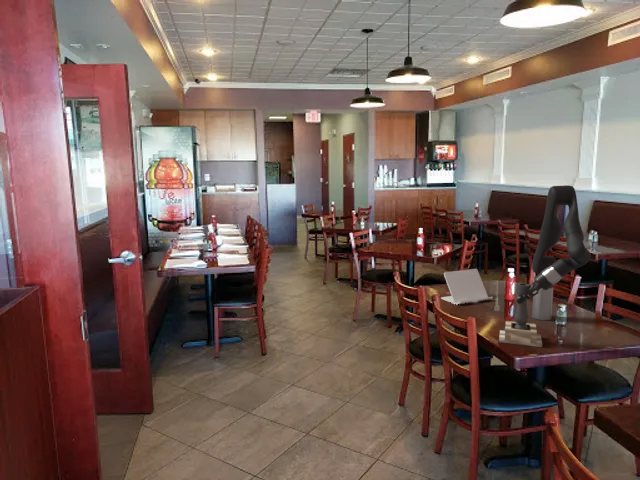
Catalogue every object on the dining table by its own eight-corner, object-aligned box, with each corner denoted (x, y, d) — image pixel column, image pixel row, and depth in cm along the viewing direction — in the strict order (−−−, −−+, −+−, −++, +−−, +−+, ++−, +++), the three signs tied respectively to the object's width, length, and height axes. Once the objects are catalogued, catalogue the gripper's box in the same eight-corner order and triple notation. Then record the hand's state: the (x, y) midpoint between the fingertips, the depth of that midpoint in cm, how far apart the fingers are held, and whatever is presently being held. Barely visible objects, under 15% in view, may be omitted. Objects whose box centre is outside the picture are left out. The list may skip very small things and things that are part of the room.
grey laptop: (440, 298, 291) (441, 271, 288) (472, 294, 301) (473, 267, 298) (459, 306, 274) (461, 277, 272) (493, 301, 284) (495, 273, 282)
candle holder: (524, 334, 225) (526, 282, 221) (530, 339, 219) (532, 286, 215) (511, 334, 225) (513, 283, 221) (516, 339, 219) (519, 286, 215)
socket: (499, 332, 232) (500, 320, 231) (540, 337, 225) (541, 324, 224) (498, 342, 219) (499, 329, 218) (542, 347, 213) (542, 333, 212)
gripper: (541, 268, 221) (511, 291, 227) (543, 274, 208) (511, 298, 214) (553, 280, 220) (523, 302, 226) (555, 287, 206) (523, 311, 213)
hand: (517, 300), depth 220 cm, fingers closed on candle holder, 5 cm apart
